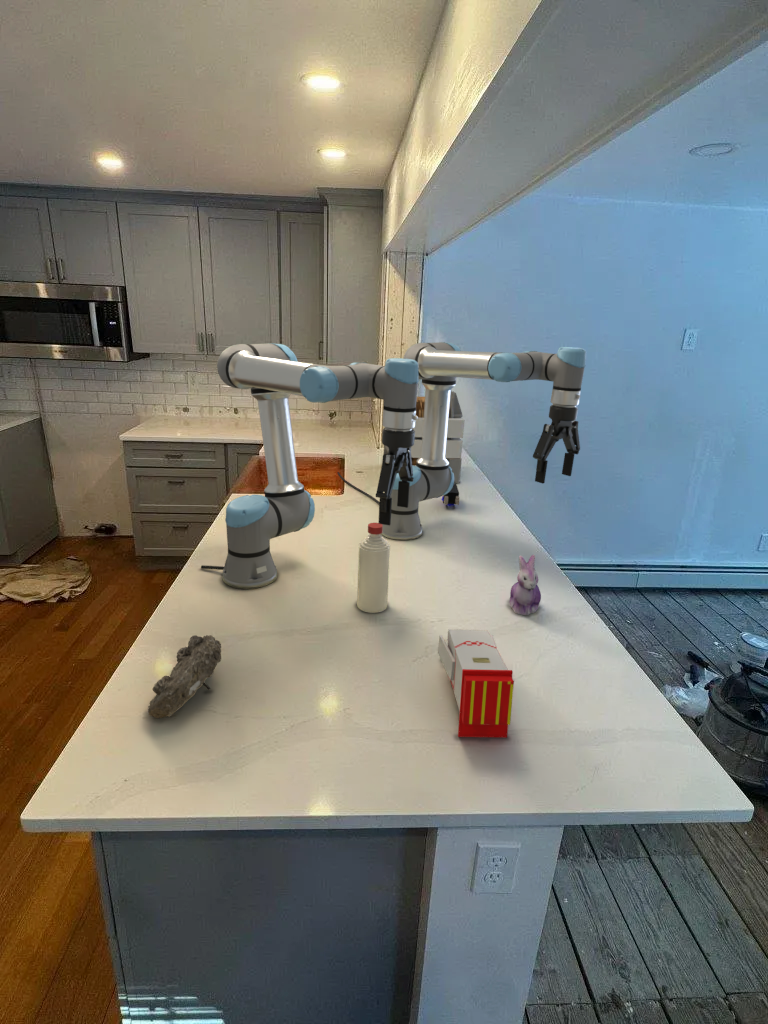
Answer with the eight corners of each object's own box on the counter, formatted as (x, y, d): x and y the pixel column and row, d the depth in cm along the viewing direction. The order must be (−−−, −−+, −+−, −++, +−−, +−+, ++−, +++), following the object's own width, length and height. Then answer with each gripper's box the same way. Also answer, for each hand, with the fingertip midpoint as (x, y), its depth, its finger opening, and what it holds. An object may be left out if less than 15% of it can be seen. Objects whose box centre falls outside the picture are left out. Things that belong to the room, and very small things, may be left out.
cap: (365, 533, 143) (366, 526, 142) (370, 528, 146) (370, 521, 146) (380, 535, 142) (380, 528, 141) (384, 530, 145) (384, 523, 145)
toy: (488, 613, 130) (523, 677, 101) (484, 667, 133) (517, 744, 104) (435, 612, 130) (455, 676, 101) (432, 666, 133) (451, 743, 103)
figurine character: (459, 513, 226) (454, 497, 240) (461, 496, 223) (456, 481, 236) (442, 513, 226) (439, 497, 239) (444, 496, 222) (440, 480, 236)
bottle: (353, 609, 149) (355, 529, 141) (362, 595, 156) (365, 519, 148) (382, 615, 147) (386, 534, 139) (390, 600, 154) (394, 523, 146)
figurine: (523, 619, 147) (531, 567, 142) (498, 602, 156) (505, 552, 150) (551, 612, 151) (559, 561, 146) (525, 595, 160) (532, 546, 155)
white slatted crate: (382, 463, 289) (386, 382, 275) (445, 464, 293) (451, 384, 279) (390, 482, 257) (394, 392, 243) (460, 483, 261) (468, 394, 247)
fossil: (175, 637, 125) (222, 606, 120) (205, 666, 128) (253, 637, 123) (125, 712, 105) (179, 678, 100) (162, 744, 108) (217, 713, 103)
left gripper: (396, 440, 118) (391, 535, 125) (429, 421, 140) (423, 502, 147) (363, 436, 120) (360, 529, 127) (400, 418, 142) (395, 497, 150)
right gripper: (550, 410, 147) (539, 488, 154) (600, 404, 163) (587, 475, 170) (526, 406, 152) (516, 482, 160) (576, 400, 168) (565, 469, 175)
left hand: (394, 515), depth 137 cm, fingers open, 13 cm apart
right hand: (553, 478), depth 165 cm, fingers open, 13 cm apart
